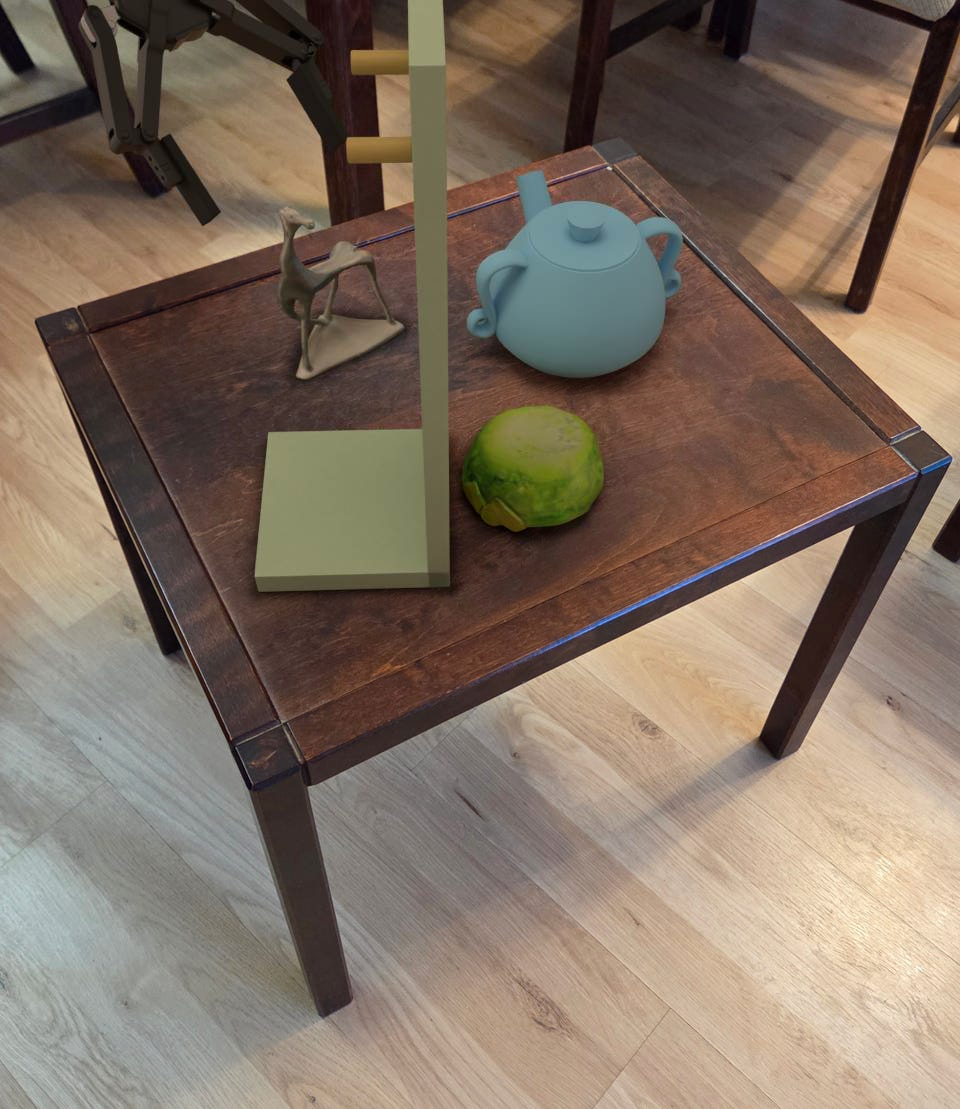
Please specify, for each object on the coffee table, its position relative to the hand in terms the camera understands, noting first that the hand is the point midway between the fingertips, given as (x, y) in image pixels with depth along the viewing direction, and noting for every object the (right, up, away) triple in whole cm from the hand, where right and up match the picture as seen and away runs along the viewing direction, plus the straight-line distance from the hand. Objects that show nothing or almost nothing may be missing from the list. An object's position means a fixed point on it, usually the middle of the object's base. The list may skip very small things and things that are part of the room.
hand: (278, 181), depth 85 cm
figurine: (+4, -11, +9) cm, 14 cm away
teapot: (+24, -9, +11) cm, 27 cm away
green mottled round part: (+21, -24, -1) cm, 32 cm away
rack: (+7, -27, -3) cm, 28 cm away
